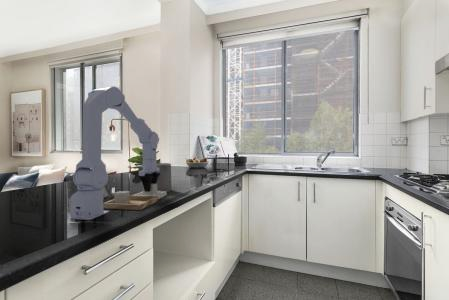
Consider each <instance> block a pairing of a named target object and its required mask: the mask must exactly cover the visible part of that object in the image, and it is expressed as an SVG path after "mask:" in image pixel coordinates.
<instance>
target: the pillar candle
mask: <svg viewBox="0 0 449 300" xmlns="http://www.w3.org/2000/svg"><path fill="white" fill-rule="evenodd" d="M156 167H157V168H159V172H157V173H160V175H159V177H158V180H157V191H167V193H169V192H172V164H171V163H170V162H168V163H167V162H156Z"/></svg>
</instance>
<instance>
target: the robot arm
mask: <svg viewBox="0 0 449 300" xmlns="http://www.w3.org/2000/svg"><path fill="white" fill-rule="evenodd" d="M108 109H110V110H115V111H118V113H119V114H120V115H121V116H122V117H123V118H124V119H126V120H127V121H128V123H130V124H129V125H130V127H129V128H130V129H131V130H132V131H133V133H134V134H135V135H137V137H138V141H139V144H142V145H141V147H142V150H141V151H142V169H141V170H138V178H139V179H140V181H141V183H142V188H143V187H144V190H145V192H150V189H151V183H157V180H158V177H159V175H160V173H157V172H159V168H157V167H156V163H157V149H158V144H159V142H160V137H159V134H158V133H156V132H155V131H153V130H152V129H151V127H150V126H148V124H147V123H146V122H145V120H144V119H143V118H141V117H137V115H136V114H135V113H134V111H133V110H132V108H131V107H130V106H129V104H128V103H127V102H126V96H125V94H124V93H123V92H122V91H121V89H120V88H119V87H117V86H115V85H114V86H110V87H104V88H95V89H93V90H91V91H90V90H89V91H88V93H87V98H86V100H85V102H84V103H83V107H82V141H81V142H82V143H81V144H82V148H81V159H80V161H79V162H78V163H77V164H76V165H75V171H74V173H73V175H72V181H73V183H74V184H75V185H76V186H77V187H76V188H77V191H76V192H73V193H72V195H71V196H70V199H69V215H70V216H69V217H67V219H69V220H83V221H84V220H85V221H86V220H87V221H90V220H93V219H95V218H97V217H100V216H102V215H104V214H105V215H106V214H107V213H109V212H110V210H105V208H104V206H103V203H104V198H103V188H104V187H105V186H106V185H107V184H108V182H109V176H108V172H107V167H106V164H105V163H104V161H103V160H102V137H103V136H102V134H103V133H102V129H103V128H102V127H103V124H102V123H103V113H104V112H105V111H107V110H108Z"/></svg>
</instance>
